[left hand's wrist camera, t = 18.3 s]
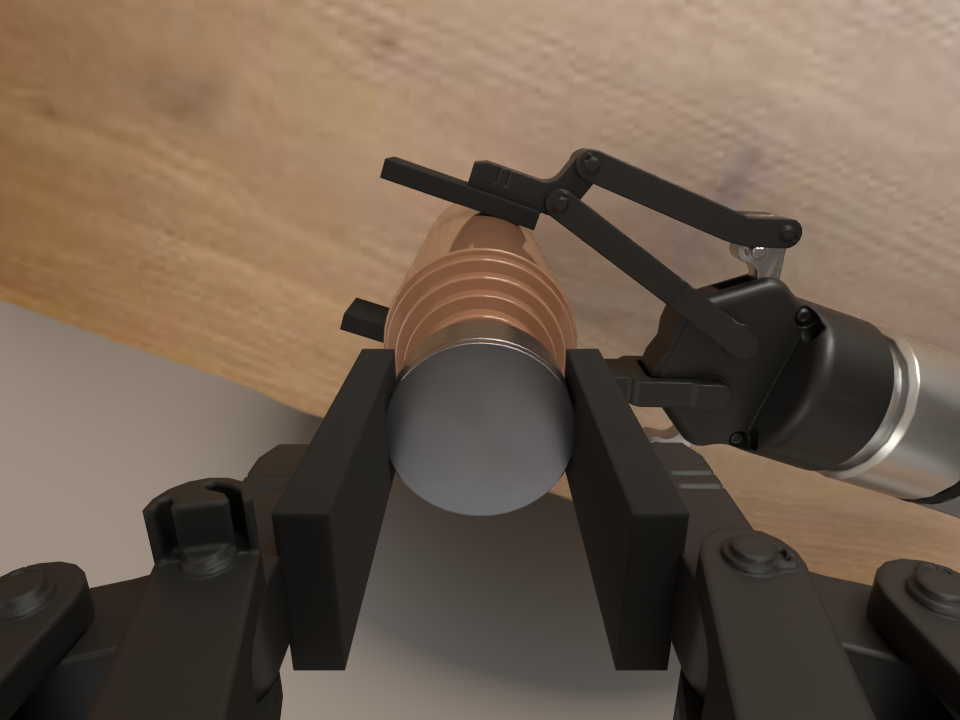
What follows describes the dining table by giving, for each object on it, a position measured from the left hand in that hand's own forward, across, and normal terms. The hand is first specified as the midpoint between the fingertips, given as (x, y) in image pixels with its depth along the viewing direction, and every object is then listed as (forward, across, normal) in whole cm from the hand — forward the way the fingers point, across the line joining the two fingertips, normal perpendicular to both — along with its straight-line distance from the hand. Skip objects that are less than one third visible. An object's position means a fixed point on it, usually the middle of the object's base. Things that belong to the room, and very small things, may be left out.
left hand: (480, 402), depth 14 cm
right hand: (+13, -5, +2) cm, 14 cm away
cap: (-1, 0, 0) cm, 1 cm away
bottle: (+20, 0, 0) cm, 20 cm away
